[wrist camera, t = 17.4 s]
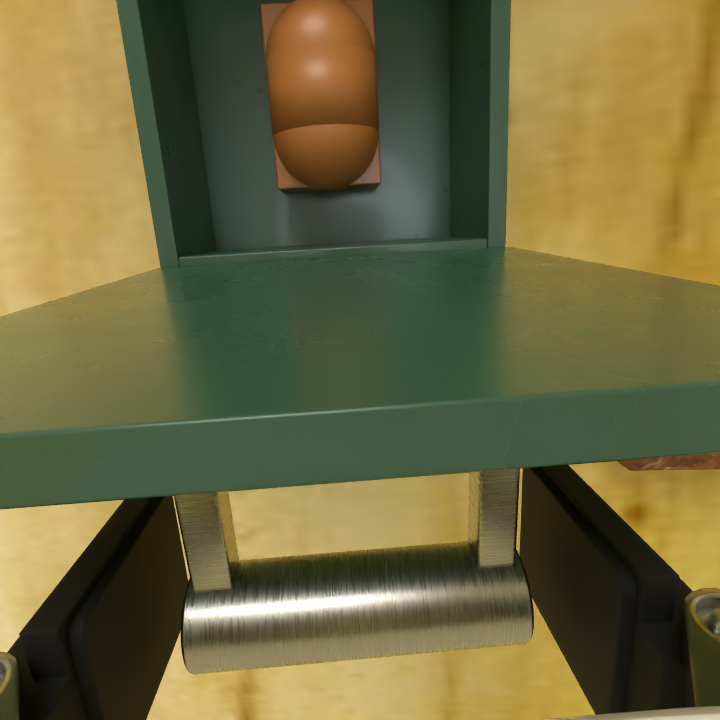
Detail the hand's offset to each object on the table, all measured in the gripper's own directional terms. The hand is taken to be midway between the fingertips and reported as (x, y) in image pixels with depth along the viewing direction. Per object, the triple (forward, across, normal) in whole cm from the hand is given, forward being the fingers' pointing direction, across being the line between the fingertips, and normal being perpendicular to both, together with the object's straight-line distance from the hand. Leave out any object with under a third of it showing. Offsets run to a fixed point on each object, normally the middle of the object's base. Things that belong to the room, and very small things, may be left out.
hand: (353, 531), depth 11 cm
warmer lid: (+3, 0, -5) cm, 6 cm away
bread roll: (+19, 0, -13) cm, 23 cm away
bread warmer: (+20, 0, -13) cm, 23 cm away
